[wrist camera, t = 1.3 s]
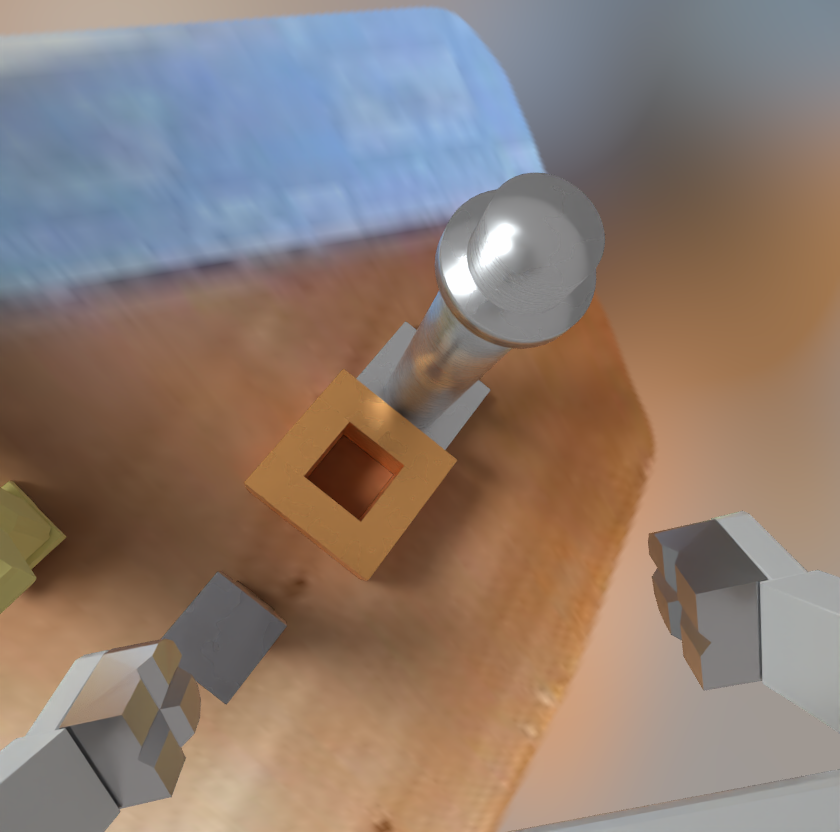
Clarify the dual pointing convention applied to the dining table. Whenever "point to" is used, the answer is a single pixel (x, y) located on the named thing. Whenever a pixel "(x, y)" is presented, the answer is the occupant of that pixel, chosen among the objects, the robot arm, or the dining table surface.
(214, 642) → the grey square peg
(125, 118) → the dining table surface
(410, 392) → the metal post on base
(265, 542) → the dining table surface
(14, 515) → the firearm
